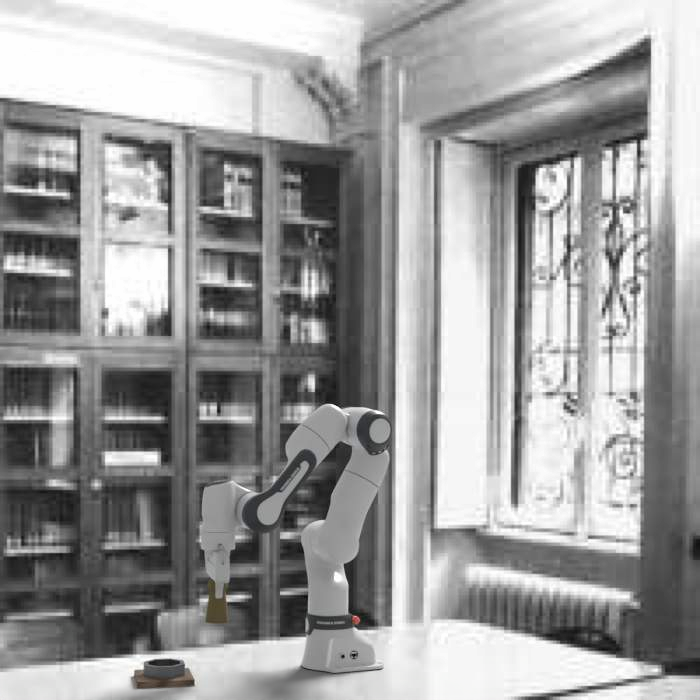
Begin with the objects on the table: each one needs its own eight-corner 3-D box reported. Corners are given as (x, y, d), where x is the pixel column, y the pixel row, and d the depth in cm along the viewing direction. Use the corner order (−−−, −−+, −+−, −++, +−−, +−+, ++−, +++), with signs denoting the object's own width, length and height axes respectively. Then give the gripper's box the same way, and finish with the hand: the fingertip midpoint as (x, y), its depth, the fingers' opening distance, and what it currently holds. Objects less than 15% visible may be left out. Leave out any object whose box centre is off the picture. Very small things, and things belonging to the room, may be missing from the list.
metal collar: (181, 669, 284) (182, 658, 284) (185, 678, 274) (186, 666, 274) (142, 671, 281) (142, 659, 281) (145, 679, 271) (145, 667, 272)
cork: (224, 623, 278) (225, 580, 279) (201, 622, 279) (202, 579, 280) (231, 620, 284) (232, 577, 285) (209, 618, 285) (210, 576, 286)
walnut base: (188, 673, 286) (188, 667, 286) (194, 685, 272) (194, 679, 272) (134, 675, 282) (134, 669, 283) (137, 688, 269) (137, 682, 269)
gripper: (236, 546, 274) (235, 602, 273) (224, 538, 294) (224, 590, 293) (211, 546, 272) (209, 603, 271) (201, 538, 292) (200, 591, 291)
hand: (217, 596), depth 282 cm, fingers closed on cork, 4 cm apart
